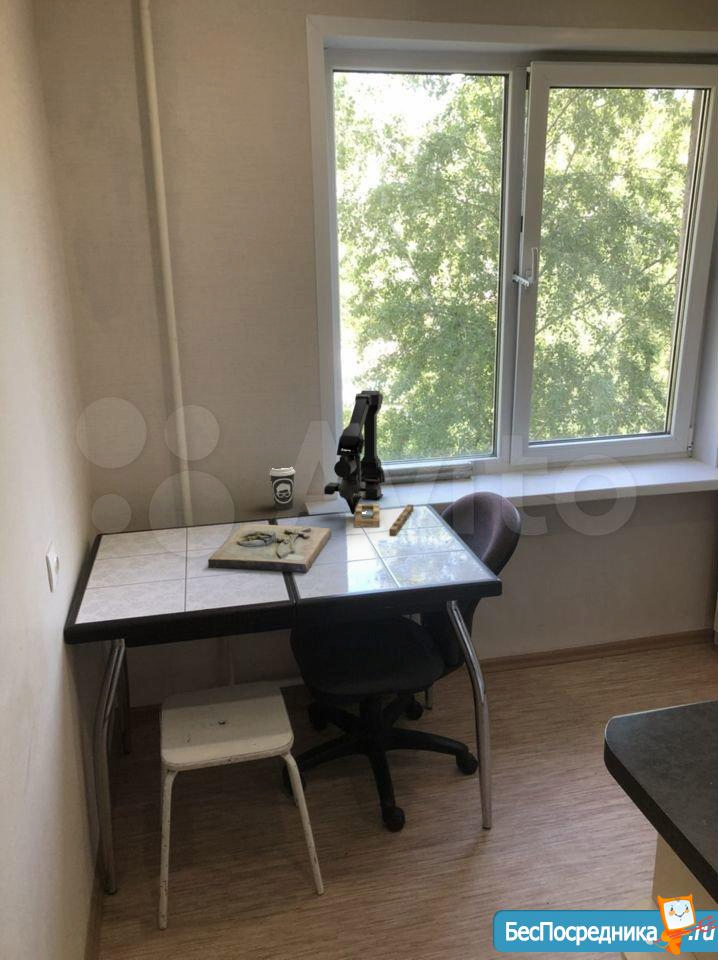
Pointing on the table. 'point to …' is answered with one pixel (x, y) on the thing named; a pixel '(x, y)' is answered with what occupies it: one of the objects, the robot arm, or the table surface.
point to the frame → (367, 515)
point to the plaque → (271, 548)
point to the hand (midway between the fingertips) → (353, 514)
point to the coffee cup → (283, 487)
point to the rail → (401, 520)
